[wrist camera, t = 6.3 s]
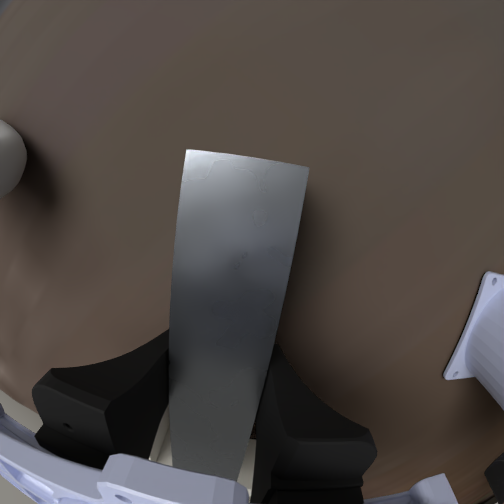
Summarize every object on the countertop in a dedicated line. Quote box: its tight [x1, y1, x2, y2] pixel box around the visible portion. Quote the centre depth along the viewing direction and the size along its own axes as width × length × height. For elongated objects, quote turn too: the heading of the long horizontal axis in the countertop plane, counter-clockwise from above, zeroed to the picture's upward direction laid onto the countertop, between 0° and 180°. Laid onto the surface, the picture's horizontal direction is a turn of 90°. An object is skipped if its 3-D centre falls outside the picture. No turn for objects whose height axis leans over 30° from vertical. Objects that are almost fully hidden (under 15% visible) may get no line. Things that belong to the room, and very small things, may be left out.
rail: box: [169, 149, 309, 482], centre depth 12 cm, size 4×16×5 cm, turn 171°
